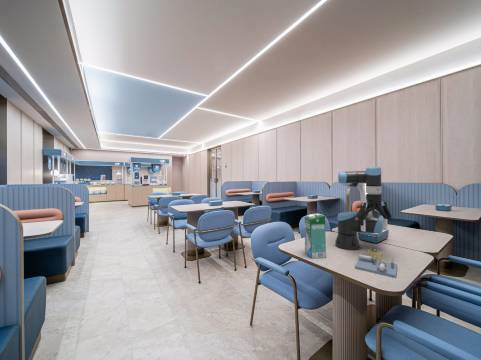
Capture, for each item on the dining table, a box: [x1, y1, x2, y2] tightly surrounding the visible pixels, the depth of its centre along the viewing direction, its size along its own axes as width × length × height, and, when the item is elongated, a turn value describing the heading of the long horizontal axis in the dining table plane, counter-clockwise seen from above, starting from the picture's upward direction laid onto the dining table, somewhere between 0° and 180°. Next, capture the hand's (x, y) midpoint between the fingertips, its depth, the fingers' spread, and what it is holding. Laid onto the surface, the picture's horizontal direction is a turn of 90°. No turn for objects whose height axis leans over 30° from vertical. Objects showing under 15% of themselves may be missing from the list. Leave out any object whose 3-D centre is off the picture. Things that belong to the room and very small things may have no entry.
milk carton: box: [304, 213, 327, 259], centre depth 125 cm, size 9×9×25 cm
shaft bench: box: [354, 253, 398, 279], centre depth 107 cm, size 17×16×4 cm
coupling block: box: [366, 248, 383, 261], centre depth 118 cm, size 5×5×6 cm
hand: (374, 230), depth 118 cm, fingers open, 13 cm apart
